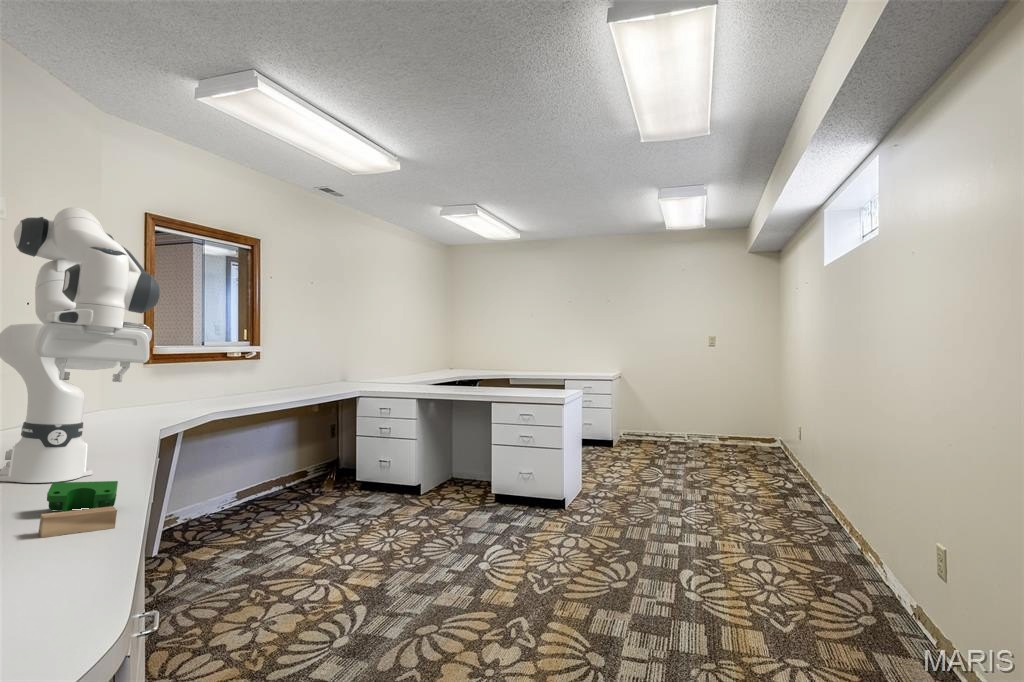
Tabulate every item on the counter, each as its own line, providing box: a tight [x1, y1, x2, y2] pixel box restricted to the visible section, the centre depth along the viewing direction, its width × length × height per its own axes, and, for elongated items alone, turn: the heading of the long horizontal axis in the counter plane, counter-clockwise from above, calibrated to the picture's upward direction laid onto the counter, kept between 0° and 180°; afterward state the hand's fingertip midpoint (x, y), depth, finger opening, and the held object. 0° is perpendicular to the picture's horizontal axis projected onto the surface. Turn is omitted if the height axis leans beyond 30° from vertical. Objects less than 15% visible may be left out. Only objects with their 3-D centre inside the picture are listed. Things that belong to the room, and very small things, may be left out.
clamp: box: [46, 480, 119, 512], centre depth 113 cm, size 12×6×9 cm, turn 116°
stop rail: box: [38, 506, 118, 539], centre depth 102 cm, size 3×11×4 cm, turn 140°
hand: (91, 381), depth 118 cm, fingers open, 8 cm apart
